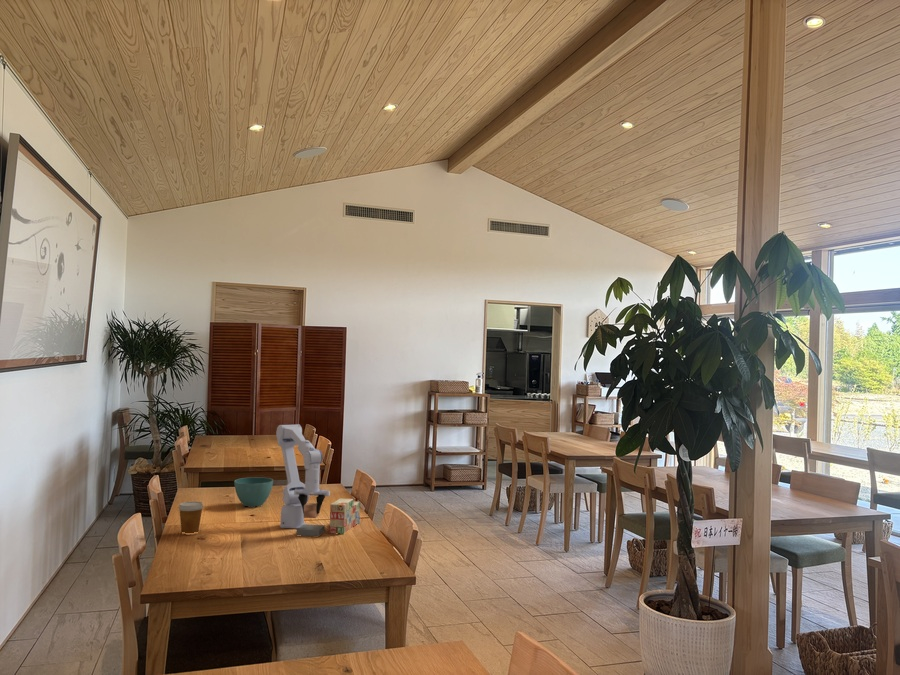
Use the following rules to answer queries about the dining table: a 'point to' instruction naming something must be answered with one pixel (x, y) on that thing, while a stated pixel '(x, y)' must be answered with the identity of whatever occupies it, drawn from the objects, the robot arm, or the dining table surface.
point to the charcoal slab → (310, 530)
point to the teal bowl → (253, 490)
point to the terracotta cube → (310, 510)
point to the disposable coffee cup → (190, 516)
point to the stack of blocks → (344, 515)
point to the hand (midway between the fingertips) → (311, 513)
